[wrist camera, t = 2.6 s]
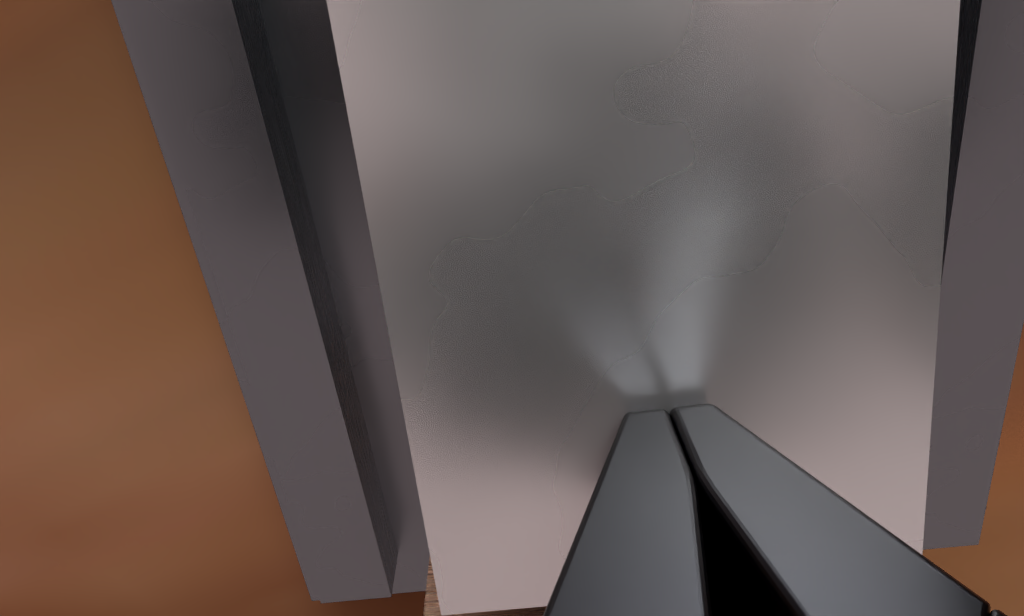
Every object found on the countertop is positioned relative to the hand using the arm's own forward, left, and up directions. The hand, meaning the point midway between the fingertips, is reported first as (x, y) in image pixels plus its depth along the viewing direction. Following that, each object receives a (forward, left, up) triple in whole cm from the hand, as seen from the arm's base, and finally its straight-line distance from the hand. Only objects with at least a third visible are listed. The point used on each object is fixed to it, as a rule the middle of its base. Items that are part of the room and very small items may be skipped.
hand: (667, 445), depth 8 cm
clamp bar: (0, -7, -2) cm, 7 cm away
